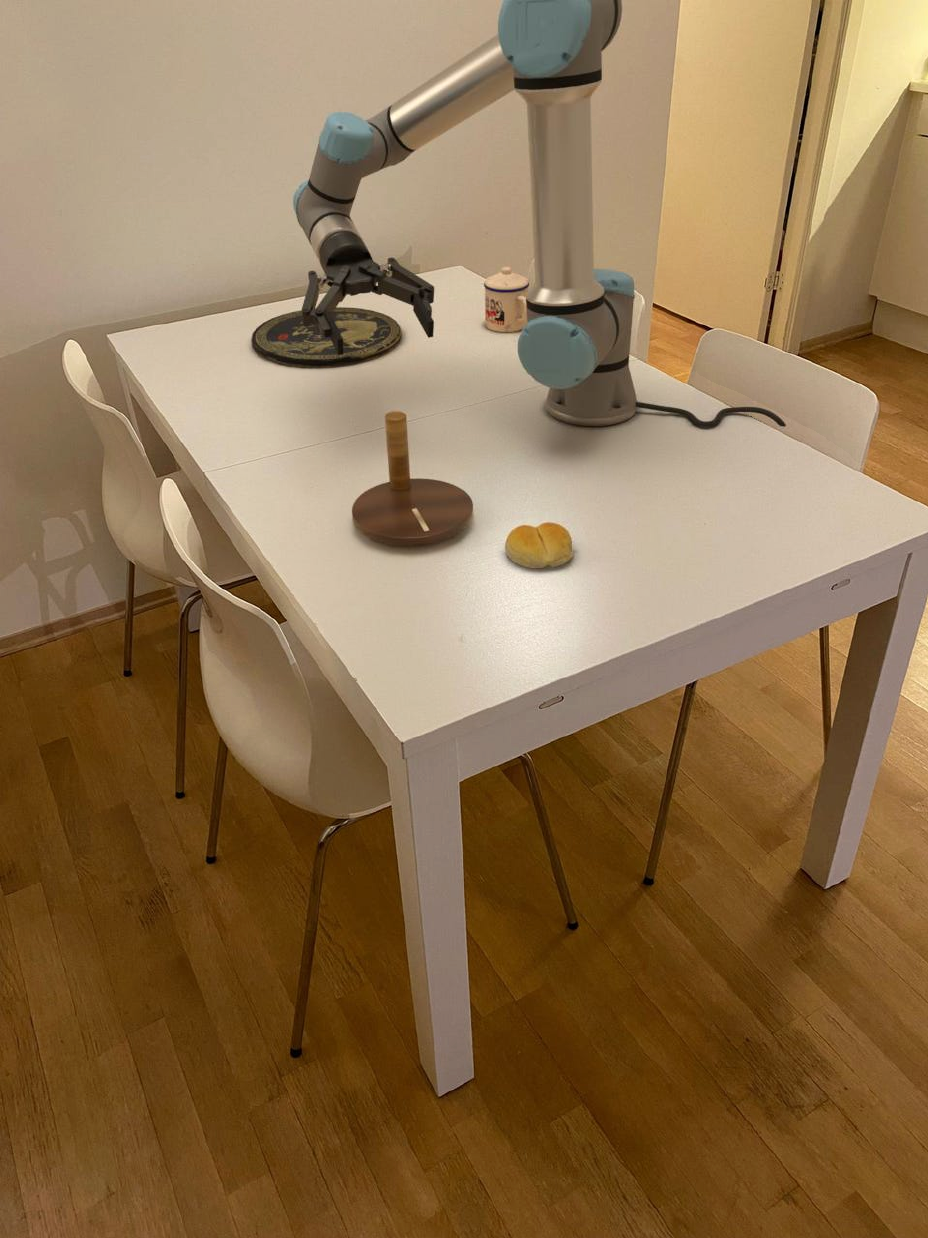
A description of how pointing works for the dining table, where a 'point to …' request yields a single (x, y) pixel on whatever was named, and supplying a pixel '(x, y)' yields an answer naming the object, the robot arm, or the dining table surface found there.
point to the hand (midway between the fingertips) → (386, 338)
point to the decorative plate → (308, 347)
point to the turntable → (409, 499)
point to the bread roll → (539, 545)
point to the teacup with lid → (506, 301)
